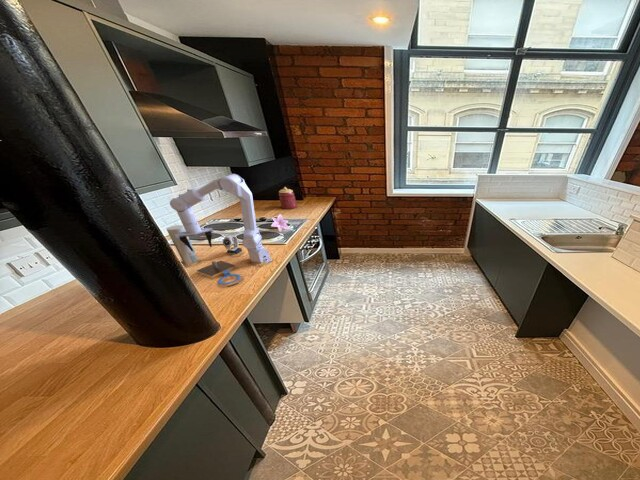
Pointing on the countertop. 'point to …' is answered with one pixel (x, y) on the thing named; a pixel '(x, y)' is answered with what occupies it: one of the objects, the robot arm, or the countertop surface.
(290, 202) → the kitchen canister
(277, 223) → the lily
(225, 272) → the ring
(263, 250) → the robot arm
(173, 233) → the spray can
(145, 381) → the countertop surface
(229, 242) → the watch
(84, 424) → the countertop surface
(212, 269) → the platform
